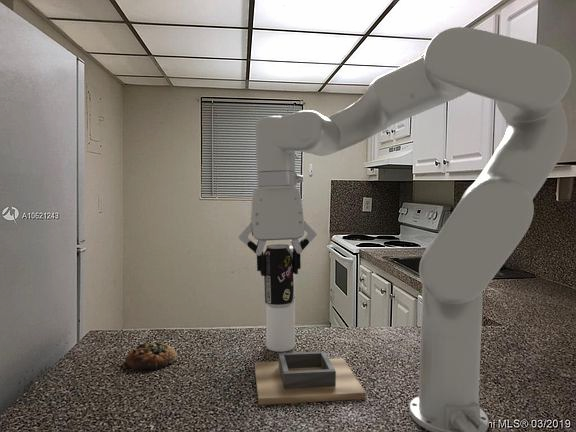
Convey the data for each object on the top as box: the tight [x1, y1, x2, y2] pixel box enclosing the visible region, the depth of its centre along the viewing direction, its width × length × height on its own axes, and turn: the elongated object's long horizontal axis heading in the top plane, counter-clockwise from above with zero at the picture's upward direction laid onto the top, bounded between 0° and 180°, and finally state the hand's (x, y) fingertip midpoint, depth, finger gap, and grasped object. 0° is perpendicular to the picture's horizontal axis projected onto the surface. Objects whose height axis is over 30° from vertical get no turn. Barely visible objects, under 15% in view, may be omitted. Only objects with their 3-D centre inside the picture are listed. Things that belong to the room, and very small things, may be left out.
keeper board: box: [254, 350, 366, 406], centre depth 84 cm, size 16×20×4 cm
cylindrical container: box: [265, 245, 296, 353], centre depth 103 cm, size 7×7×25 cm
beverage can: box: [263, 243, 294, 308], centre depth 81 cm, size 6×6×12 cm
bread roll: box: [125, 342, 178, 372], centre depth 94 cm, size 11×11×5 cm
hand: (278, 272), depth 81 cm, fingers closed on beverage can, 5 cm apart
